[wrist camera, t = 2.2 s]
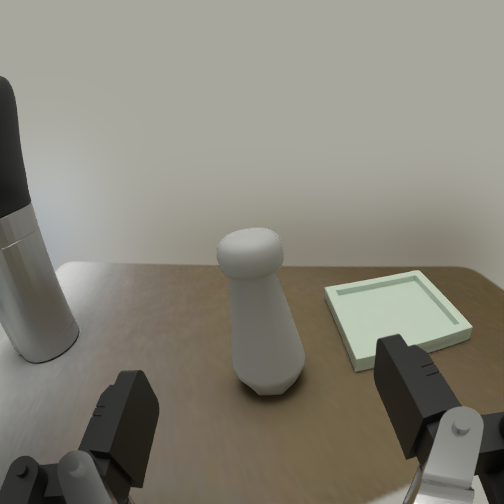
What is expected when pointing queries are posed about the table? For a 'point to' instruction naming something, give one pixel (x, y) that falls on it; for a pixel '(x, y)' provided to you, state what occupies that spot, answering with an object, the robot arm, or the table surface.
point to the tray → (394, 315)
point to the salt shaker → (260, 312)
